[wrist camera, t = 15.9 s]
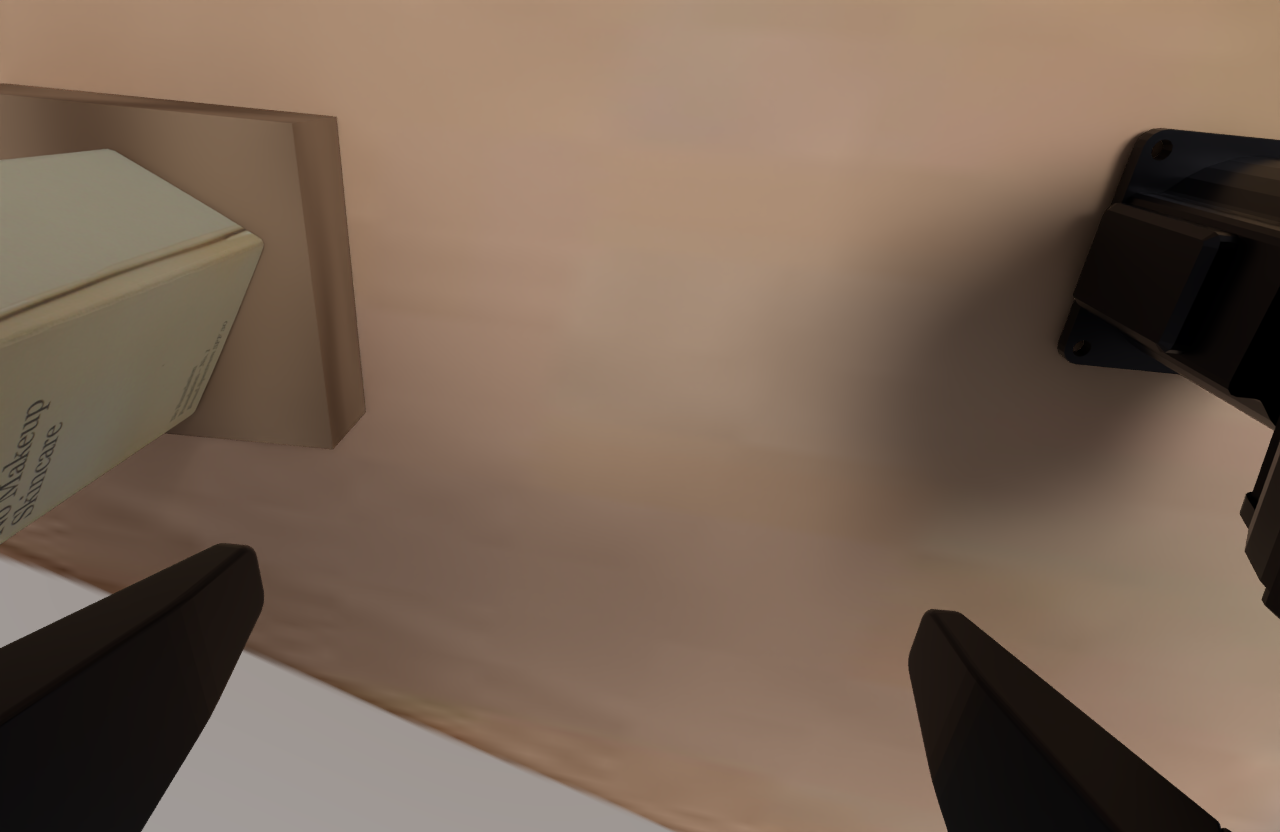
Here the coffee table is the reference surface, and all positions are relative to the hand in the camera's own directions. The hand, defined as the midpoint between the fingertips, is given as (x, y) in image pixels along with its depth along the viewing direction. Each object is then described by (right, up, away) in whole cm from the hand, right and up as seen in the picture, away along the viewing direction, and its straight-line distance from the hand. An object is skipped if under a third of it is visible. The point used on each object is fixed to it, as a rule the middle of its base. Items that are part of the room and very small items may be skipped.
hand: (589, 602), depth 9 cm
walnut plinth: (-12, +7, +12) cm, 18 cm away
